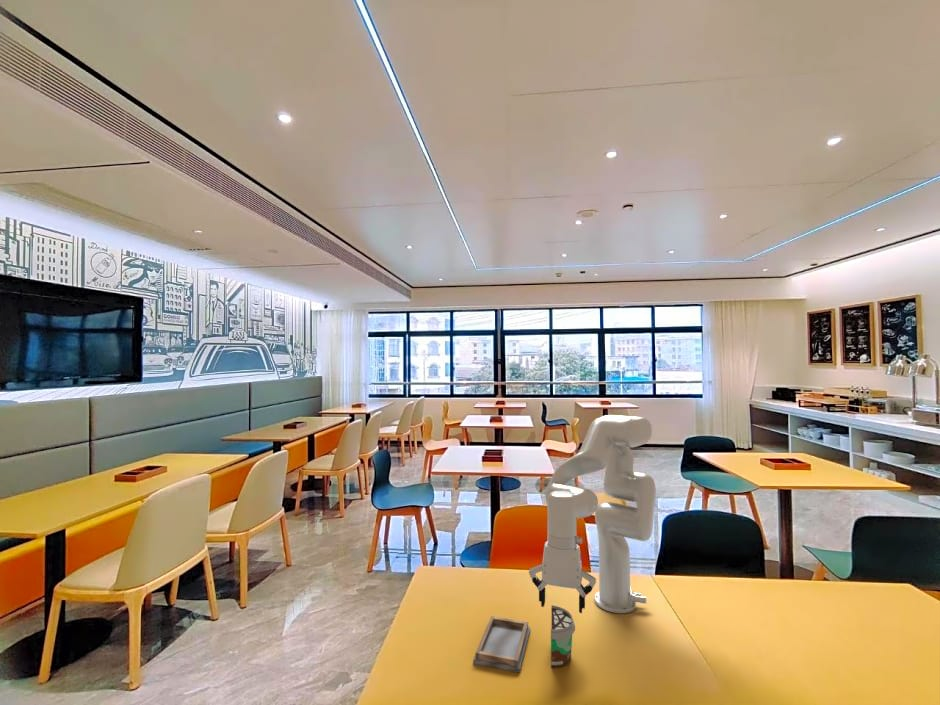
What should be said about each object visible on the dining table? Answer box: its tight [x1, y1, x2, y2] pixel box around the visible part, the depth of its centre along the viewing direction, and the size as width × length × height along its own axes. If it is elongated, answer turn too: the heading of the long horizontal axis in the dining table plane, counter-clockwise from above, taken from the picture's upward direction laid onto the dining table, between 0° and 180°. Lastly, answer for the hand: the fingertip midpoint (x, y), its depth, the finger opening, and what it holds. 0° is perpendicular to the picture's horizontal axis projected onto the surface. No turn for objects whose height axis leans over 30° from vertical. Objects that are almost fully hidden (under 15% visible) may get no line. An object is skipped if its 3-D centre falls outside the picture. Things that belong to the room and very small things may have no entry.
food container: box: [550, 605, 576, 669], centre depth 112 cm, size 12×6×10 cm, turn 168°
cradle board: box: [472, 615, 531, 674], centre depth 116 cm, size 12×18×2 cm, turn 164°
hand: (561, 607), depth 112 cm, fingers open, 9 cm apart
